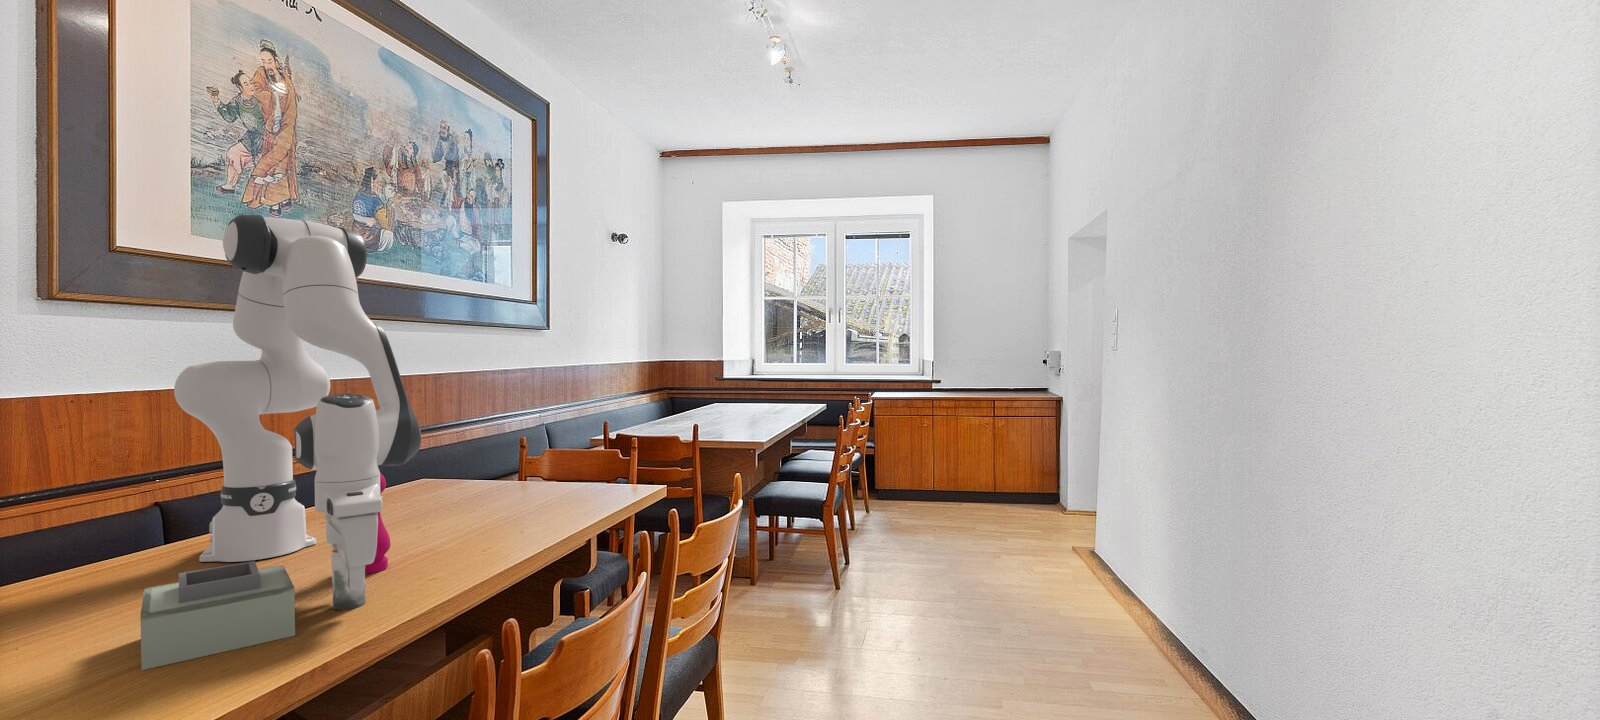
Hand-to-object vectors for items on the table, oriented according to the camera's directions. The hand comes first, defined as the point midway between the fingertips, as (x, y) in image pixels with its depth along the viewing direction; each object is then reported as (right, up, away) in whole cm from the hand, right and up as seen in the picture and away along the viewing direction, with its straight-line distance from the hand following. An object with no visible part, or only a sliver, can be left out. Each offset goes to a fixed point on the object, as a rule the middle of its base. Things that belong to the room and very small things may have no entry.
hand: (349, 581), depth 112 cm
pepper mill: (-8, -4, +18) cm, 20 cm away
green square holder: (-11, -4, -12) cm, 17 cm away
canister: (0, -4, 0) cm, 4 cm away
